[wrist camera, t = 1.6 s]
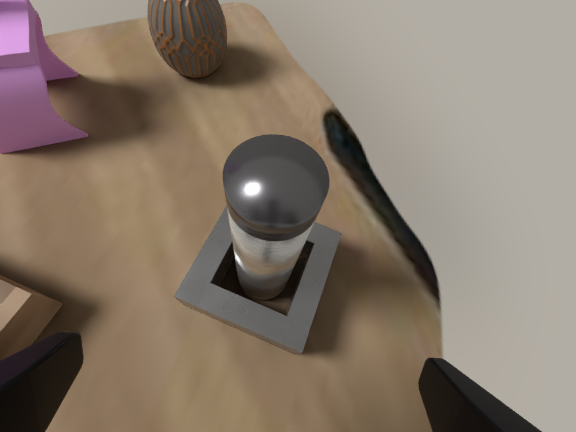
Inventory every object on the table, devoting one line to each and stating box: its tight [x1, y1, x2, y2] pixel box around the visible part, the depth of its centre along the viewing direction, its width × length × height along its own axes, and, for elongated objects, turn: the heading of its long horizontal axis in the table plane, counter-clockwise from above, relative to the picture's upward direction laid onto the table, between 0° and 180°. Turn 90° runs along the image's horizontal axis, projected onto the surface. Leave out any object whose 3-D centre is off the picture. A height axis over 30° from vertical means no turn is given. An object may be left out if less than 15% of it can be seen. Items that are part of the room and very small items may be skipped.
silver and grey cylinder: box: [223, 135, 329, 300], centre depth 15 cm, size 4×4×12 cm
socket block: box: [174, 206, 342, 354], centre depth 19 cm, size 8×8×3 cm
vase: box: [148, 0, 227, 78], centre depth 26 cm, size 7×7×9 cm
